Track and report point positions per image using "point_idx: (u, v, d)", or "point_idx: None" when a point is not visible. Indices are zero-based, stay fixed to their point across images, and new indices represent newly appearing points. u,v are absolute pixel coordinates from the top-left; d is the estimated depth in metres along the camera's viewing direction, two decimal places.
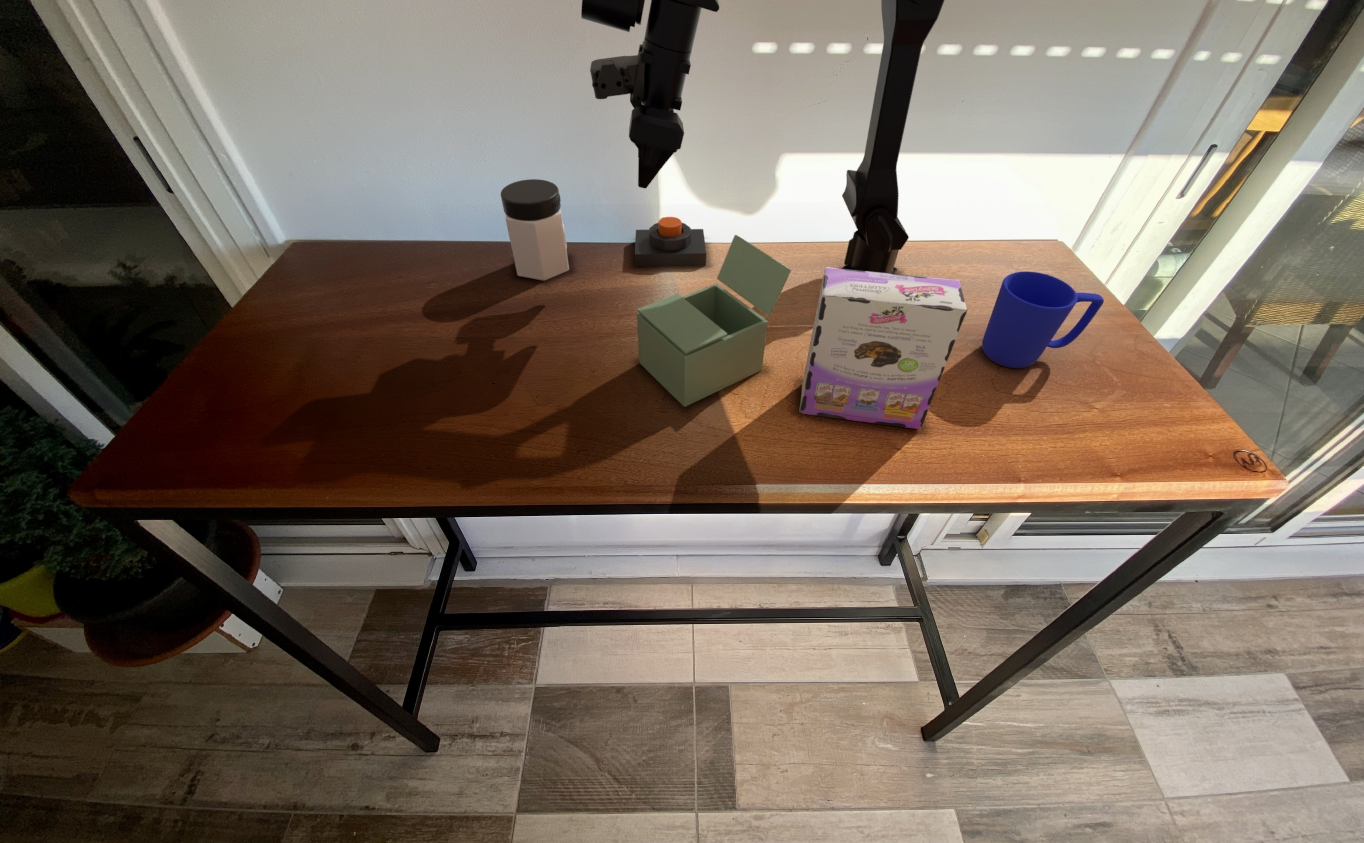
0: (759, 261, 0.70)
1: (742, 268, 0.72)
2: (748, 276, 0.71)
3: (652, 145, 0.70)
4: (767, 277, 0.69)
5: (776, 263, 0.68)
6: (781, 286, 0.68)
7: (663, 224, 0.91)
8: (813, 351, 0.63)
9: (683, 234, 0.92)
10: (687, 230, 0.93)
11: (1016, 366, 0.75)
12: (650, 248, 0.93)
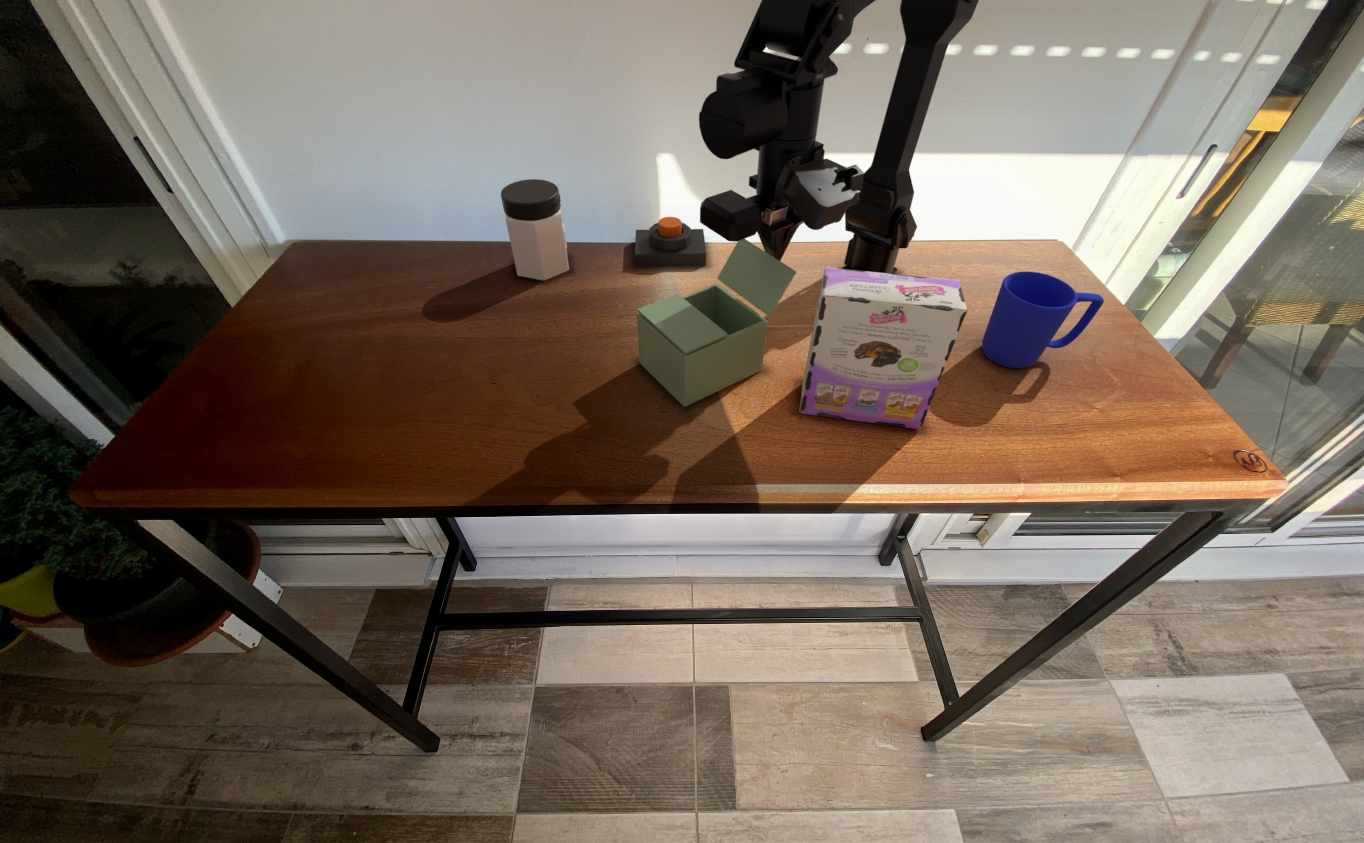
0: (764, 262, 0.70)
1: (745, 269, 0.72)
2: (751, 277, 0.72)
3: None
4: (771, 278, 0.70)
5: (781, 265, 0.69)
6: (785, 287, 0.68)
7: (663, 224, 0.91)
8: (813, 351, 0.63)
9: (683, 234, 0.92)
10: (687, 230, 0.93)
11: (1016, 366, 0.75)
12: (650, 248, 0.93)
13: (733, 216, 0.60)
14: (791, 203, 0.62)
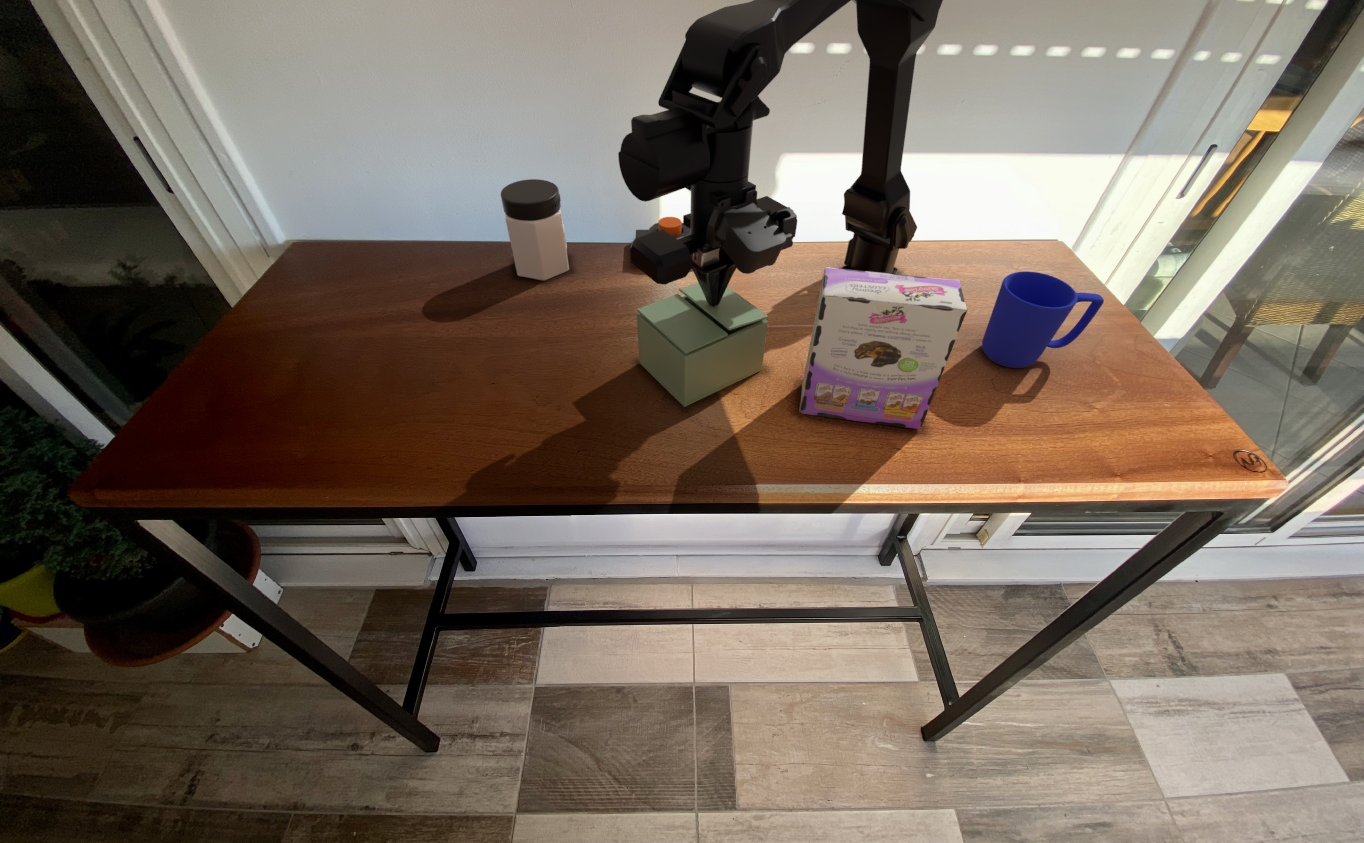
0: None
1: None
2: None
3: None
4: None
5: None
6: (742, 325, 0.68)
7: (663, 224, 0.91)
8: (813, 351, 0.63)
9: (683, 234, 0.92)
10: (687, 230, 0.93)
11: (1016, 366, 0.75)
12: None
13: (660, 258, 0.58)
14: (722, 245, 0.60)
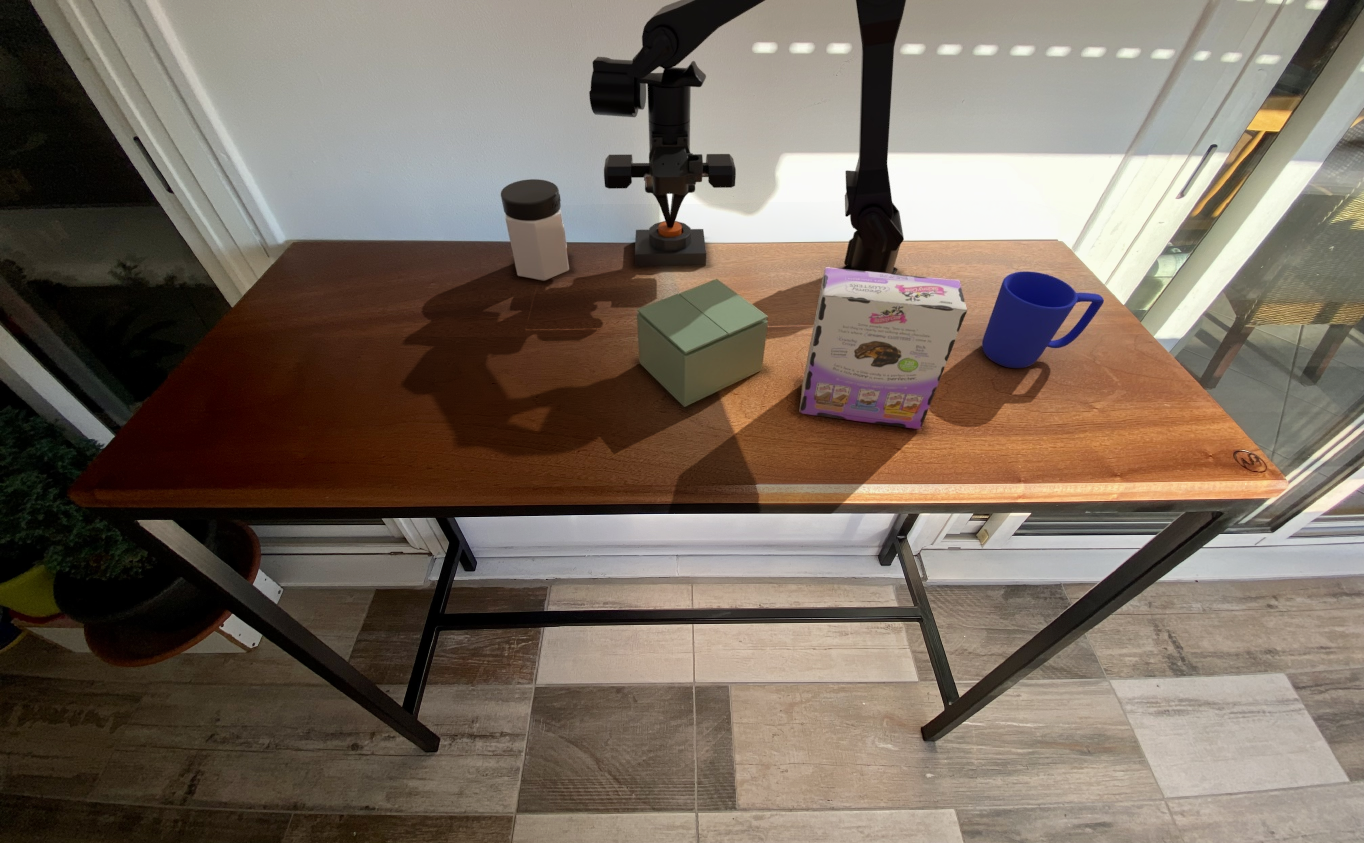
0: None
1: None
2: None
3: None
4: None
5: (718, 325, 0.69)
6: (742, 328, 0.68)
7: (663, 229, 0.92)
8: (813, 351, 0.63)
9: (683, 234, 0.92)
10: (687, 230, 0.93)
11: (1016, 366, 0.75)
12: (650, 248, 0.93)
13: (607, 168, 0.83)
14: None
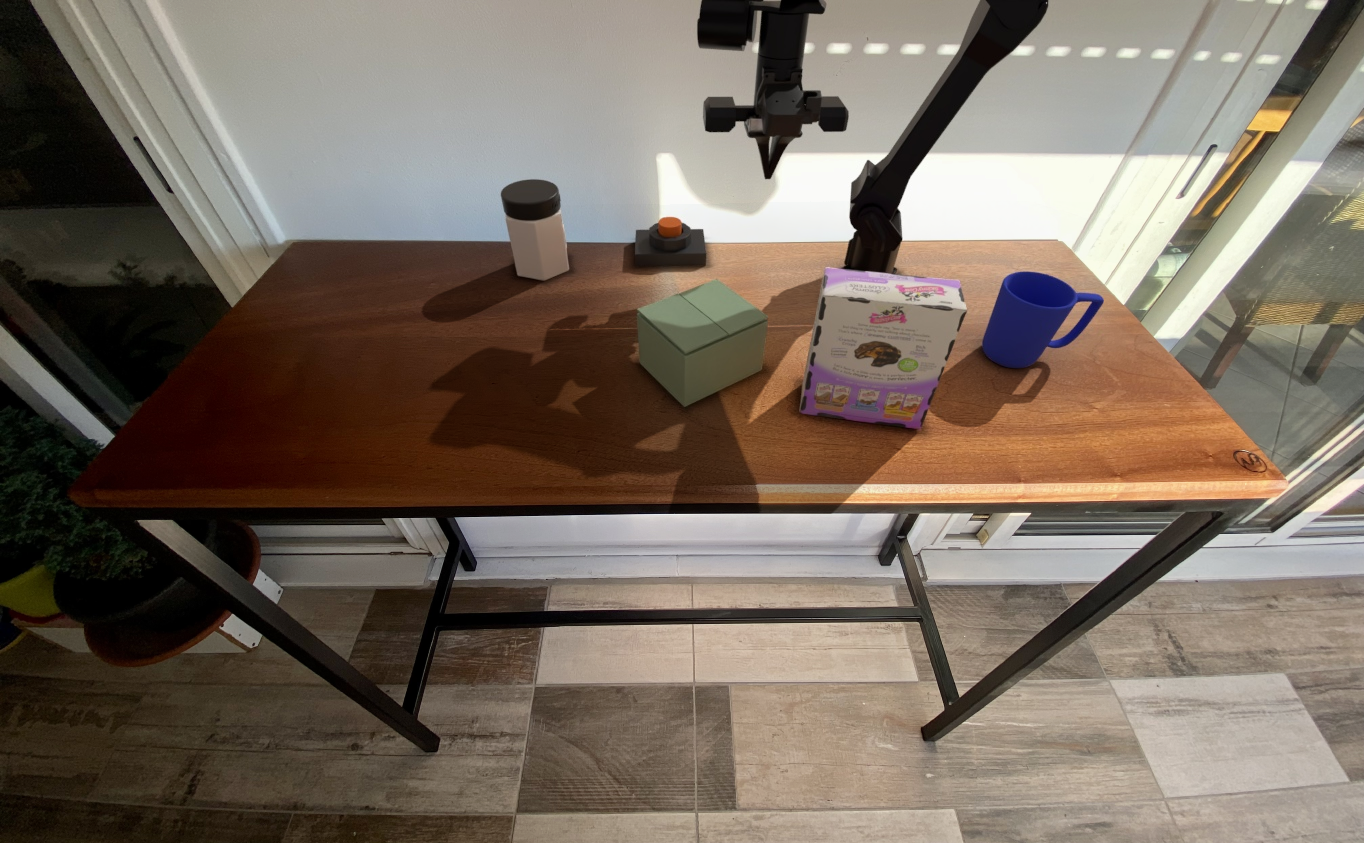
0: None
1: None
2: None
3: None
4: None
5: (718, 325, 0.69)
6: (742, 328, 0.68)
7: (663, 224, 0.91)
8: (813, 351, 0.63)
9: (683, 234, 0.92)
10: (687, 230, 0.93)
11: (1016, 366, 0.75)
12: (650, 248, 0.93)
13: (710, 109, 0.76)
14: (761, 112, 0.75)
